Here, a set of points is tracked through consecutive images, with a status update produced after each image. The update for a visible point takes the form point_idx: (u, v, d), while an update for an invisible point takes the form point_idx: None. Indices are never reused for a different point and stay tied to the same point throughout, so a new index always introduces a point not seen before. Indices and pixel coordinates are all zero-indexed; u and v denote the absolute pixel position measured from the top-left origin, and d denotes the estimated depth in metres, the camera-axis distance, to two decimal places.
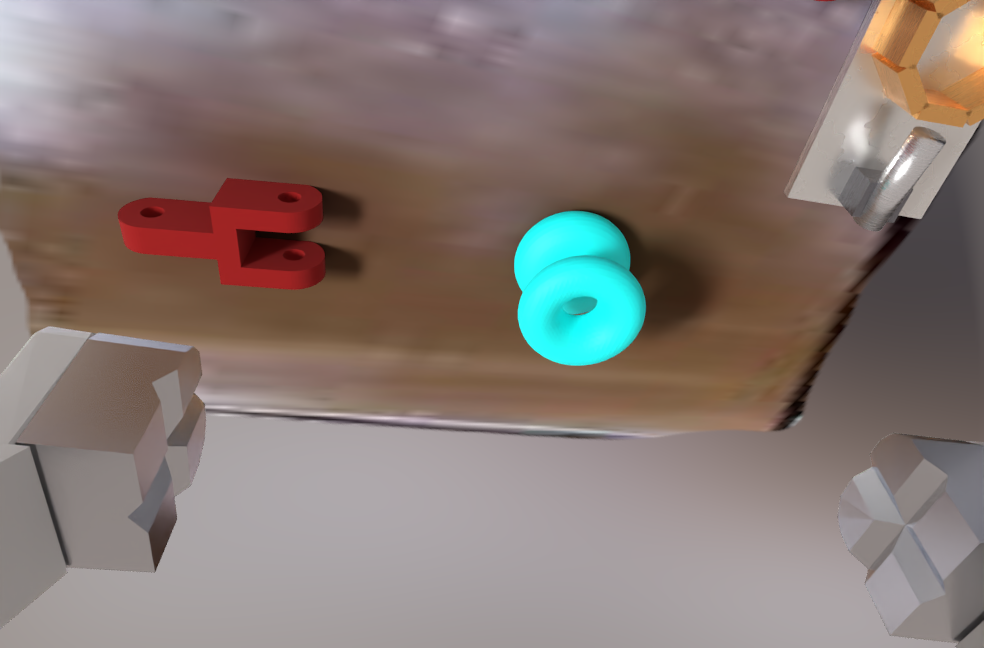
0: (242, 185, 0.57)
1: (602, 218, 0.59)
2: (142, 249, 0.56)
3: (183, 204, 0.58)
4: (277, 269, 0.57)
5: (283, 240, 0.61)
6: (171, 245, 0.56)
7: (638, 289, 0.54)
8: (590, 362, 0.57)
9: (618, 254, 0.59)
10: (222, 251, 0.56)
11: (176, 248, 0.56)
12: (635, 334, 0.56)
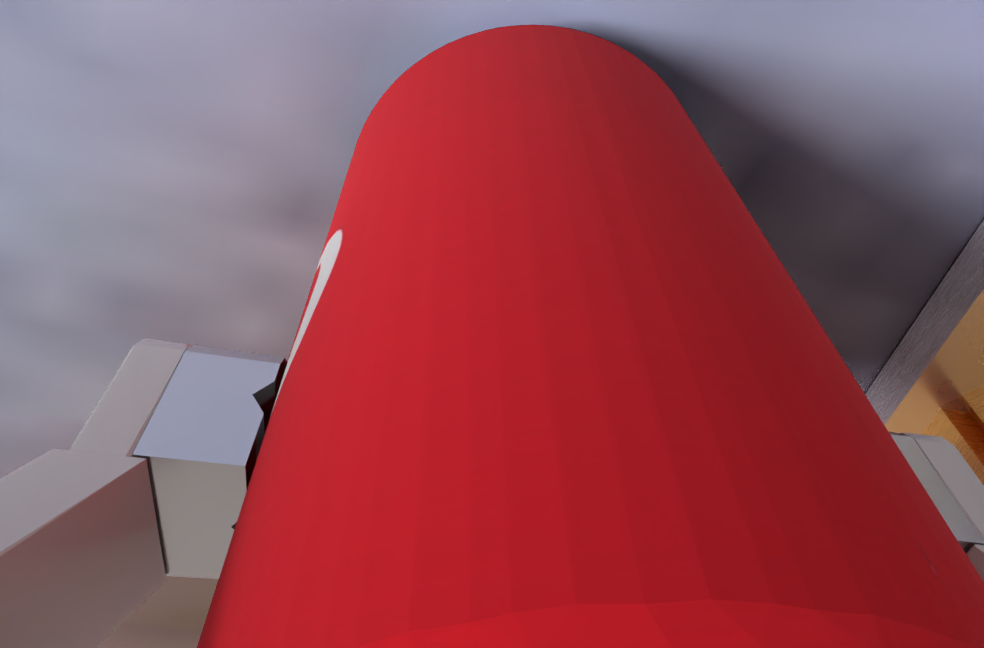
0: None
1: None
2: None
3: None
4: None
5: None
6: None
7: None
8: None
9: None
10: None
11: None
12: None
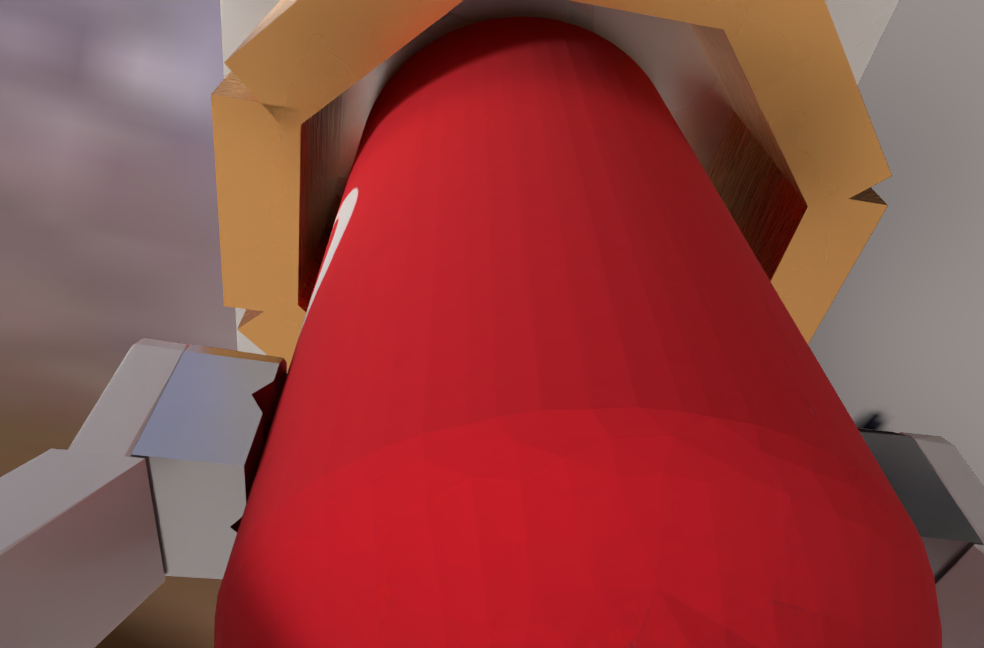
0: None
1: None
2: None
3: None
4: None
5: None
6: None
7: None
8: None
9: None
10: None
11: None
12: None
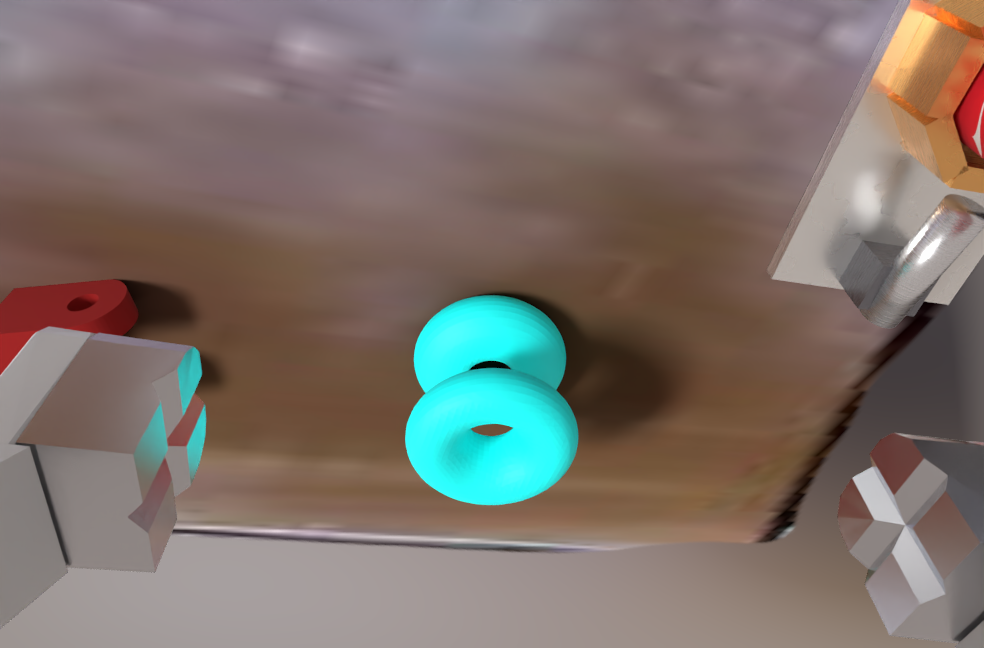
0: (28, 296, 0.44)
1: (525, 306, 0.44)
2: None
3: None
4: None
5: None
6: None
7: (565, 415, 0.39)
8: (506, 502, 0.43)
9: (547, 353, 0.44)
10: None
11: None
12: (564, 469, 0.41)
